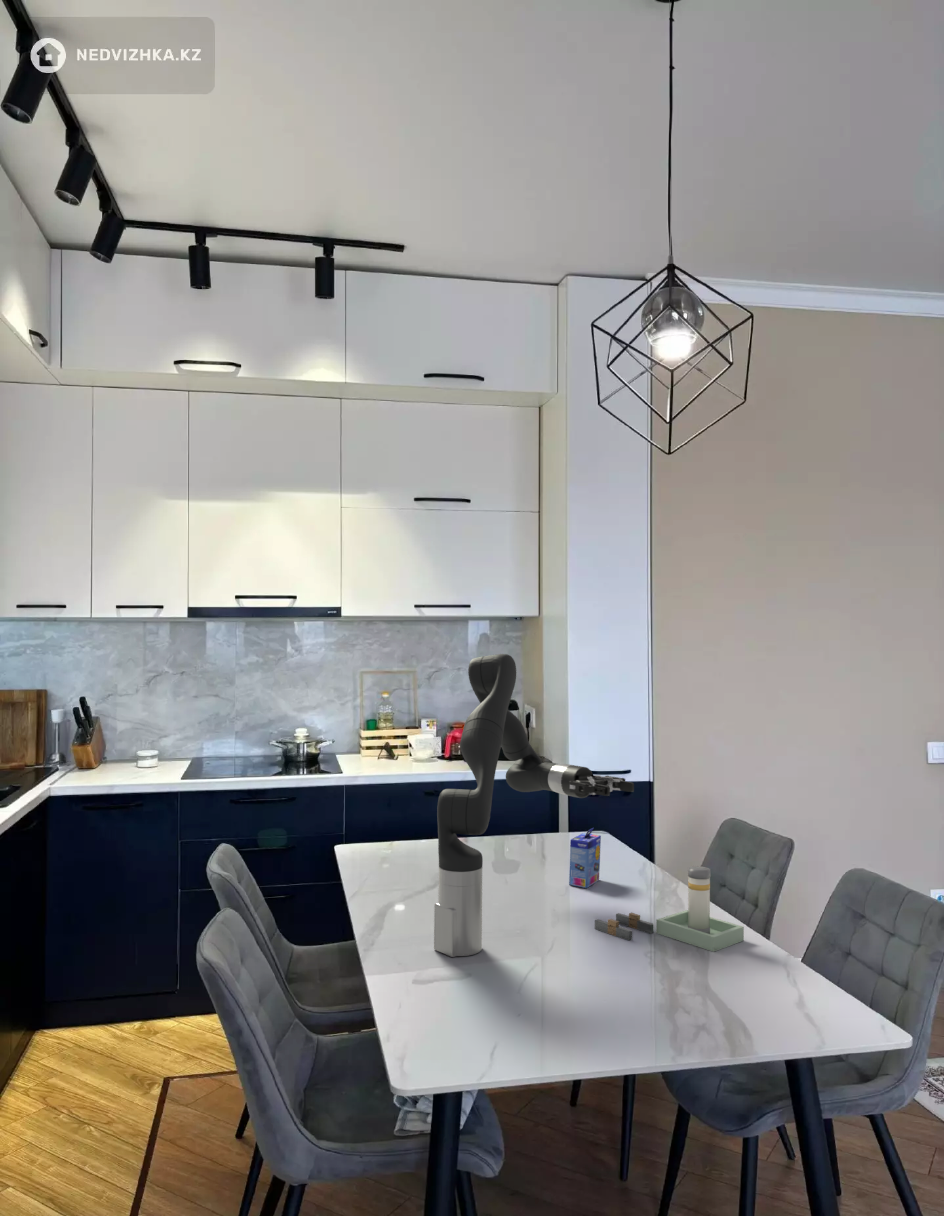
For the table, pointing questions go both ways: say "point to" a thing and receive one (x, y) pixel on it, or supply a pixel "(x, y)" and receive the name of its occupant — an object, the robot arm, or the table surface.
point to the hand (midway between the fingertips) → (621, 789)
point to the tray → (716, 940)
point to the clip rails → (630, 921)
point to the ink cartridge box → (584, 859)
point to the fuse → (699, 898)
